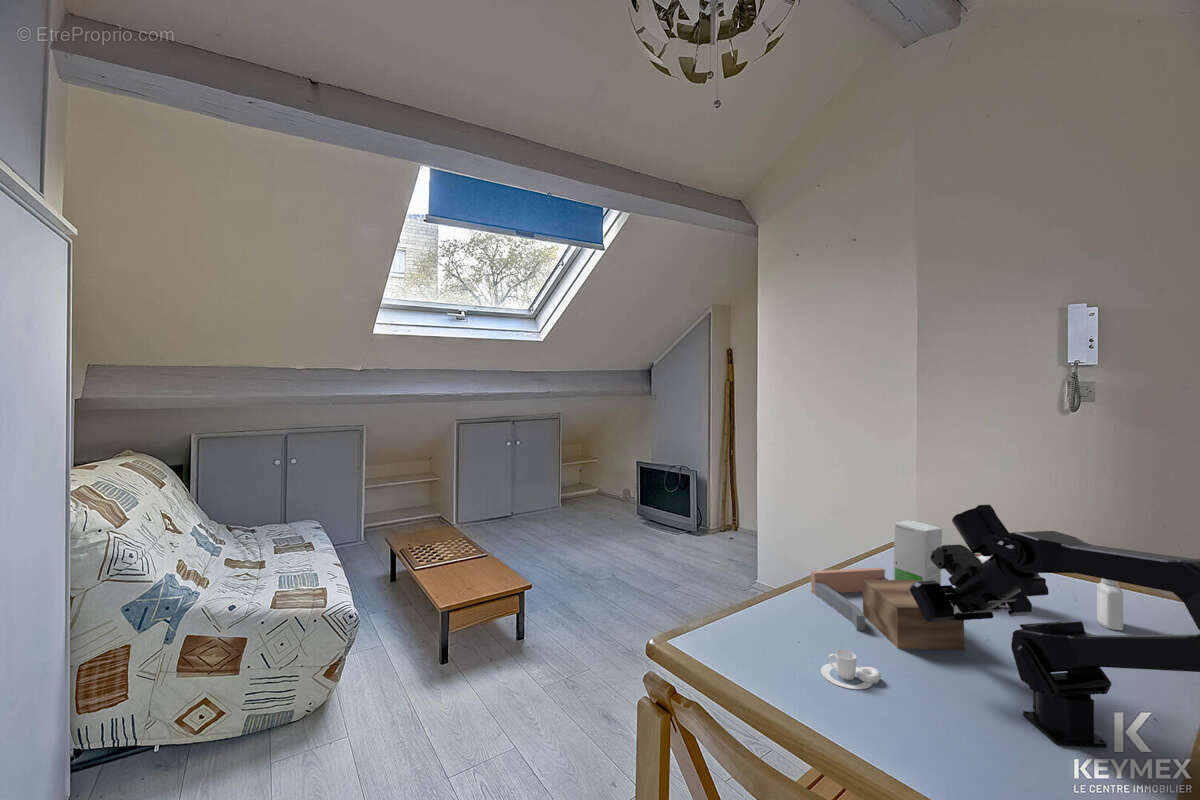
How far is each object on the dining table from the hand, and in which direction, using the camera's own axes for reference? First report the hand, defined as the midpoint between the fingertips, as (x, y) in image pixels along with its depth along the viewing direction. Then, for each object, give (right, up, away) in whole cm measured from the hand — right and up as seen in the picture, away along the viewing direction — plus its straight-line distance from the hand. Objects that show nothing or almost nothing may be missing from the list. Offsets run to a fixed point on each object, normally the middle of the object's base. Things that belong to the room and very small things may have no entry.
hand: (943, 616), depth 91 cm
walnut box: (-1, -7, +9) cm, 11 cm away
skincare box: (+15, -6, +31) cm, 35 cm away
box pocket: (-2, -7, +20) cm, 21 cm away
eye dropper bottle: (+41, -6, +10) cm, 42 cm away
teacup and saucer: (-21, -8, -10) cm, 24 cm away
